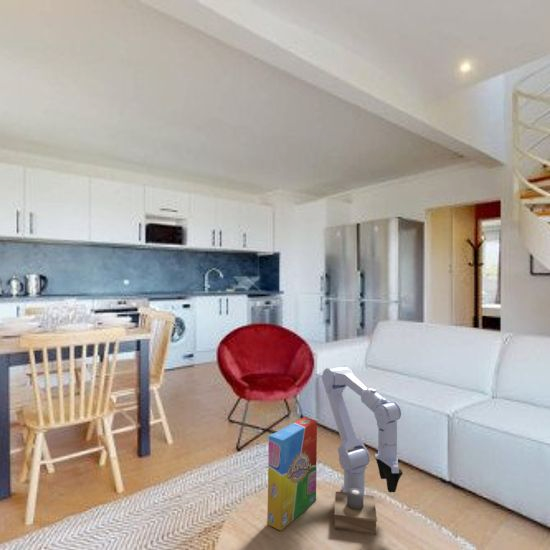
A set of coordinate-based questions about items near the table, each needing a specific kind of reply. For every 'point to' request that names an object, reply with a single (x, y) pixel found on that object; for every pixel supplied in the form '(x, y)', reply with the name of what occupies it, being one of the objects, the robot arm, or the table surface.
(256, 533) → the table surface
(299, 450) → the game box
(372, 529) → the box
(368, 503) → the lid
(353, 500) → the grey short cylinder
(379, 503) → the table surface
